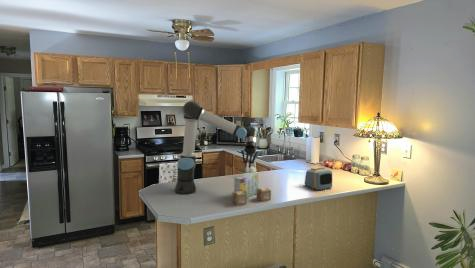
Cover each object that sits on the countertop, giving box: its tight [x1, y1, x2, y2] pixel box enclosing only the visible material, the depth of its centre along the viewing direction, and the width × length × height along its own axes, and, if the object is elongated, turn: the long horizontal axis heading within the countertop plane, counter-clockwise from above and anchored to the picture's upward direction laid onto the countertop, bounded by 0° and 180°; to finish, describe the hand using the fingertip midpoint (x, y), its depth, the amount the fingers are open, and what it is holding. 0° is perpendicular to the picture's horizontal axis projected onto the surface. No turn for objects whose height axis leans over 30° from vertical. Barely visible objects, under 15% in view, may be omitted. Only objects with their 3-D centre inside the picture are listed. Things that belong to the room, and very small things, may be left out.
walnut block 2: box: [256, 187, 272, 202], centre depth 210 cm, size 7×7×7 cm
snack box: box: [233, 172, 259, 198], centre depth 215 cm, size 21×6×15 cm, turn 141°
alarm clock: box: [304, 166, 333, 191], centre depth 242 cm, size 16×16×16 cm
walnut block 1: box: [231, 191, 248, 207], centre depth 201 cm, size 7×7×7 cm
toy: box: [241, 160, 257, 176], centre depth 260 cm, size 10×17×15 cm, turn 138°
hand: (247, 171), depth 214 cm, fingers closed
